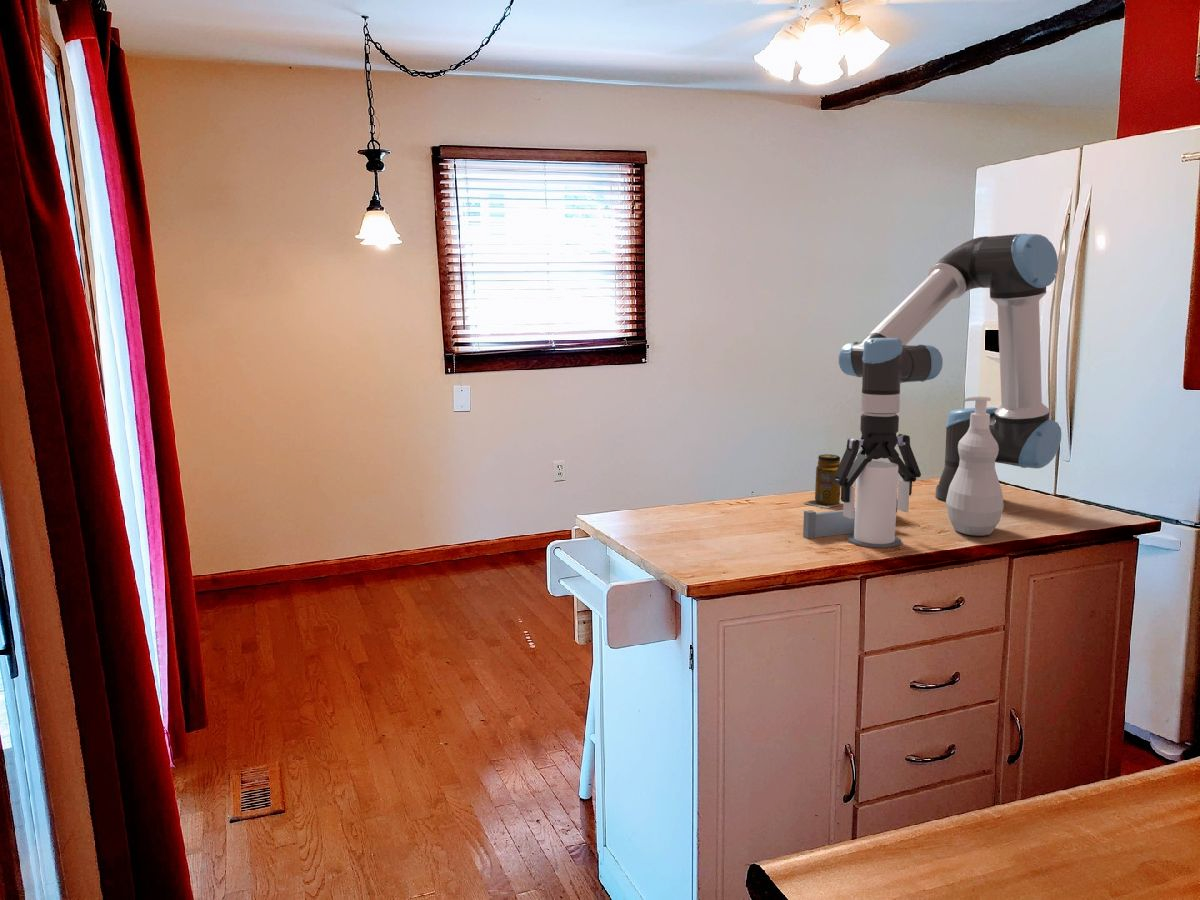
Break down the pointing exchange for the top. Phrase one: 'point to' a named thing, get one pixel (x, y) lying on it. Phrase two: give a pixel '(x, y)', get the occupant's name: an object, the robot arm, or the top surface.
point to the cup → (876, 503)
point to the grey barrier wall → (826, 524)
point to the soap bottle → (976, 478)
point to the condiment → (826, 482)
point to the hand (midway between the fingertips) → (875, 514)
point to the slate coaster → (852, 540)
